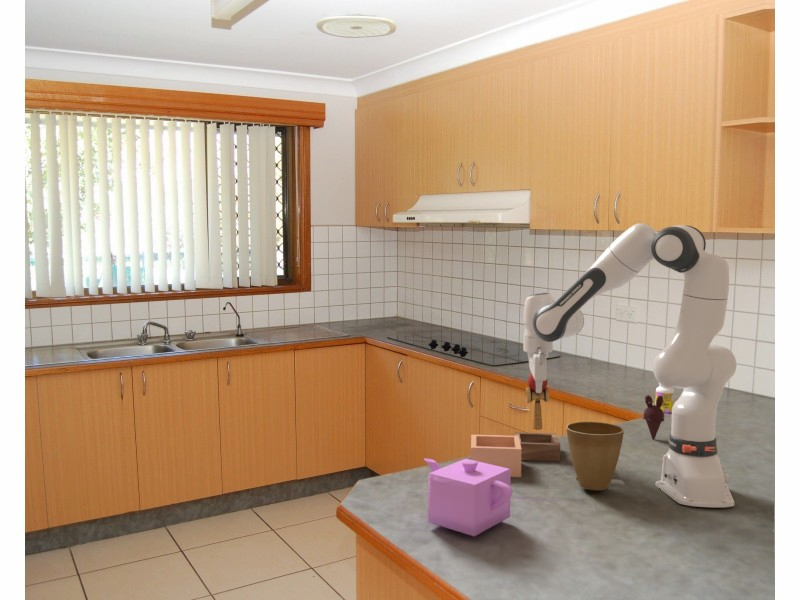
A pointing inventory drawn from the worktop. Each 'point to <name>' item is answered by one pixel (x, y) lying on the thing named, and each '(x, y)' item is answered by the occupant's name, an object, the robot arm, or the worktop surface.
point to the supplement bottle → (665, 397)
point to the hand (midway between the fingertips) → (537, 390)
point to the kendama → (536, 400)
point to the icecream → (653, 414)
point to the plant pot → (594, 452)
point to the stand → (498, 451)
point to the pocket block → (539, 446)
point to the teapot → (468, 495)
